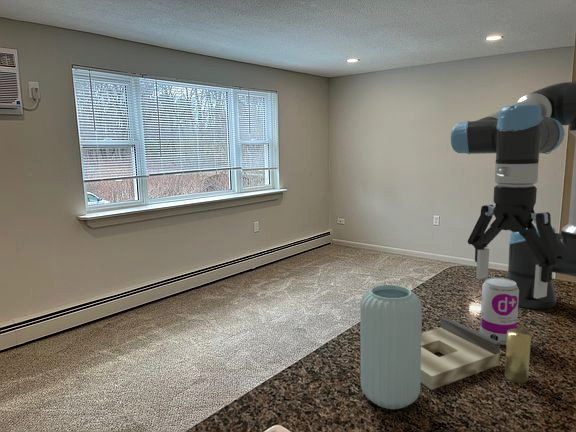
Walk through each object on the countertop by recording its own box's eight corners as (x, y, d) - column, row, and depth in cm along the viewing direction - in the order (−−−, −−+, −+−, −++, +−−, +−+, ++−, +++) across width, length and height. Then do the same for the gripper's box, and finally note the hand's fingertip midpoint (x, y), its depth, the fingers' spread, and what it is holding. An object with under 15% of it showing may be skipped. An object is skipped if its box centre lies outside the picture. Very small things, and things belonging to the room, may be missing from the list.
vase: (357, 381, 90) (356, 282, 86) (411, 380, 89) (413, 280, 85) (365, 416, 78) (364, 303, 75) (427, 415, 78) (430, 301, 74)
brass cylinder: (513, 369, 92) (516, 327, 90) (532, 379, 88) (535, 335, 87) (500, 374, 90) (502, 331, 89) (518, 385, 86) (521, 339, 85)
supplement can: (520, 346, 102) (524, 288, 100) (484, 344, 104) (487, 286, 101) (510, 332, 110) (513, 277, 107) (476, 330, 112) (478, 276, 109)
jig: (444, 337, 108) (445, 316, 107) (498, 365, 94) (500, 342, 93) (382, 355, 100) (382, 334, 99) (431, 389, 86) (432, 365, 85)
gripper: (453, 181, 93) (449, 273, 97) (565, 191, 71) (556, 310, 74) (477, 179, 96) (473, 268, 100) (593, 188, 74) (582, 303, 77)
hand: (508, 286), depth 87 cm, fingers open, 13 cm apart
